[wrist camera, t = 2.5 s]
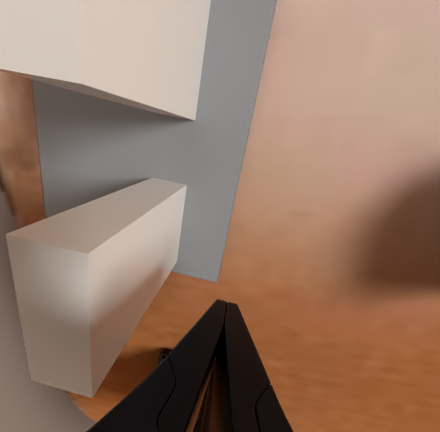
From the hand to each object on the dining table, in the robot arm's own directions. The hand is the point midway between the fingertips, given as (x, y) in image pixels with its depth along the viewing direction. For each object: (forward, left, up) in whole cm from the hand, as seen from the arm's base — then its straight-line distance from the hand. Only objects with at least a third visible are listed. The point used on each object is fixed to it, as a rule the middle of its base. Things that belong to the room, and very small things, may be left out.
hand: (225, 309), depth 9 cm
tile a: (0, +5, -7) cm, 9 cm away
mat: (+5, +8, -8) cm, 12 cm away
